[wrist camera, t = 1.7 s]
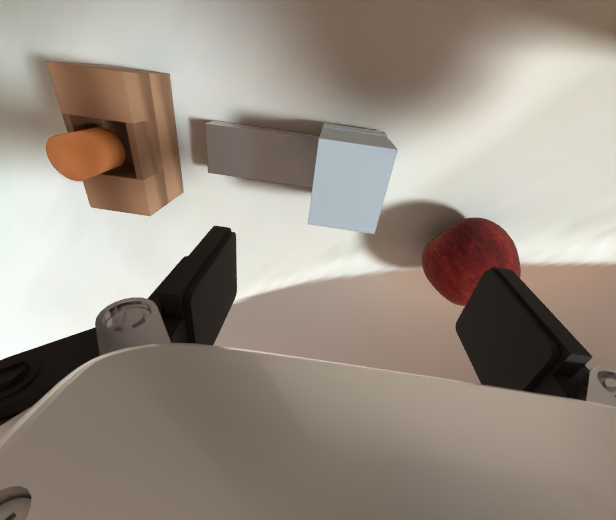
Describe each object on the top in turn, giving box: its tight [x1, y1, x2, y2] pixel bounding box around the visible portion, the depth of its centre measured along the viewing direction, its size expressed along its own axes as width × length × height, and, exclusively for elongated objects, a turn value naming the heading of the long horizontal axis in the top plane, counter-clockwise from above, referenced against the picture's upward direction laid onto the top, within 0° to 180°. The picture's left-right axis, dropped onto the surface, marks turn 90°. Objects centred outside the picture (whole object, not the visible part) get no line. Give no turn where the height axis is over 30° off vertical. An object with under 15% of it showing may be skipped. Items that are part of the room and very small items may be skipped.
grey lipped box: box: [308, 123, 398, 234], centre depth 23 cm, size 5×6×7 cm
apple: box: [422, 218, 521, 306], centre depth 26 cm, size 7×8×8 cm
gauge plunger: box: [46, 127, 126, 181], centre depth 20 cm, size 3×3×4 cm
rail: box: [205, 120, 320, 188], centre depth 25 cm, size 15×4×2 cm, turn 83°
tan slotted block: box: [46, 61, 183, 216], centre depth 24 cm, size 5×10×6 cm, turn 173°
